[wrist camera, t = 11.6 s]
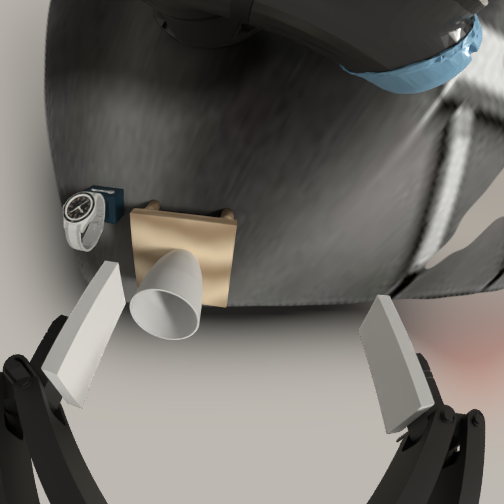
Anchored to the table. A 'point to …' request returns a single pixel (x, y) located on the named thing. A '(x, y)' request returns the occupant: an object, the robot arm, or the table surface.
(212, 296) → the small wooden table
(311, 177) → the table surface
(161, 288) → the cup
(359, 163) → the table surface
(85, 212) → the watch
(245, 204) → the table surface
